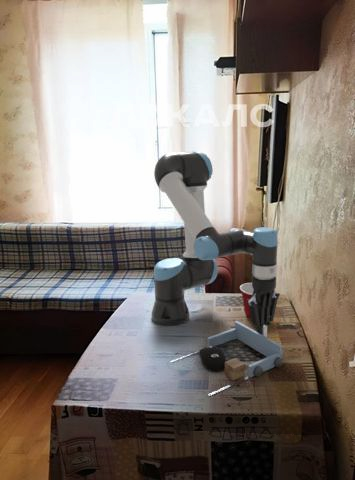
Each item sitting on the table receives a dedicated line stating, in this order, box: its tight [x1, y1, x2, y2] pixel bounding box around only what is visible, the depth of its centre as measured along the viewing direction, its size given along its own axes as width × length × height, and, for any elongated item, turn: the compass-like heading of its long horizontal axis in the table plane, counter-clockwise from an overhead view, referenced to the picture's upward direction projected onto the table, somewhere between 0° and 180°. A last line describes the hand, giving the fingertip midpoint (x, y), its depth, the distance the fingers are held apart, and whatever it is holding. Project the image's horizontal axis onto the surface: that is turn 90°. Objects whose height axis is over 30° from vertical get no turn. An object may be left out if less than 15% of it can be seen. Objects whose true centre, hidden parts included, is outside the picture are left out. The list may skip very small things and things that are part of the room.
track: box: [169, 338, 286, 397], centre depth 117 cm, size 21×30×1 cm
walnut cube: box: [224, 357, 245, 381], centre depth 110 cm, size 4×4×4 cm
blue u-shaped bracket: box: [206, 320, 284, 379], centre depth 119 cm, size 23×13×6 cm, turn 32°
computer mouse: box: [199, 346, 227, 373], centre depth 117 cm, size 8×12×4 cm, turn 9°
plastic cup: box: [239, 282, 254, 319], centre depth 147 cm, size 11×11×12 cm
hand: (262, 342), depth 124 cm, fingers closed
